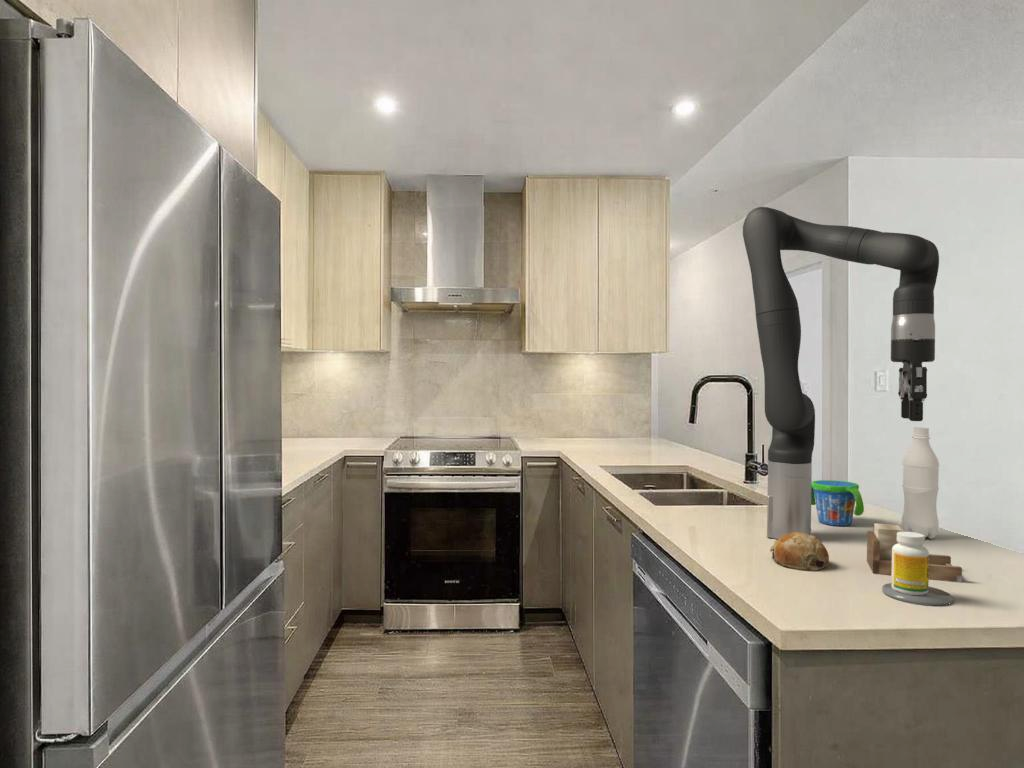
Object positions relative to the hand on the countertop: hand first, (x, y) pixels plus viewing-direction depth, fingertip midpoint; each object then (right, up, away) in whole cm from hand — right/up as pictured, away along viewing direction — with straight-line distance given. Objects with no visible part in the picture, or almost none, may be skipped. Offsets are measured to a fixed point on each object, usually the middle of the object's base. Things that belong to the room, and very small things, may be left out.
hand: (911, 419), depth 132 cm
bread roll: (-23, -28, -2) cm, 37 cm away
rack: (-4, -28, -7) cm, 29 cm away
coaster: (-12, -28, -21) cm, 37 cm away
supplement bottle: (-13, -28, -21) cm, 37 cm away
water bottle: (+14, -28, +20) cm, 38 cm away
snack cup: (+1, -28, +34) cm, 44 cm away
